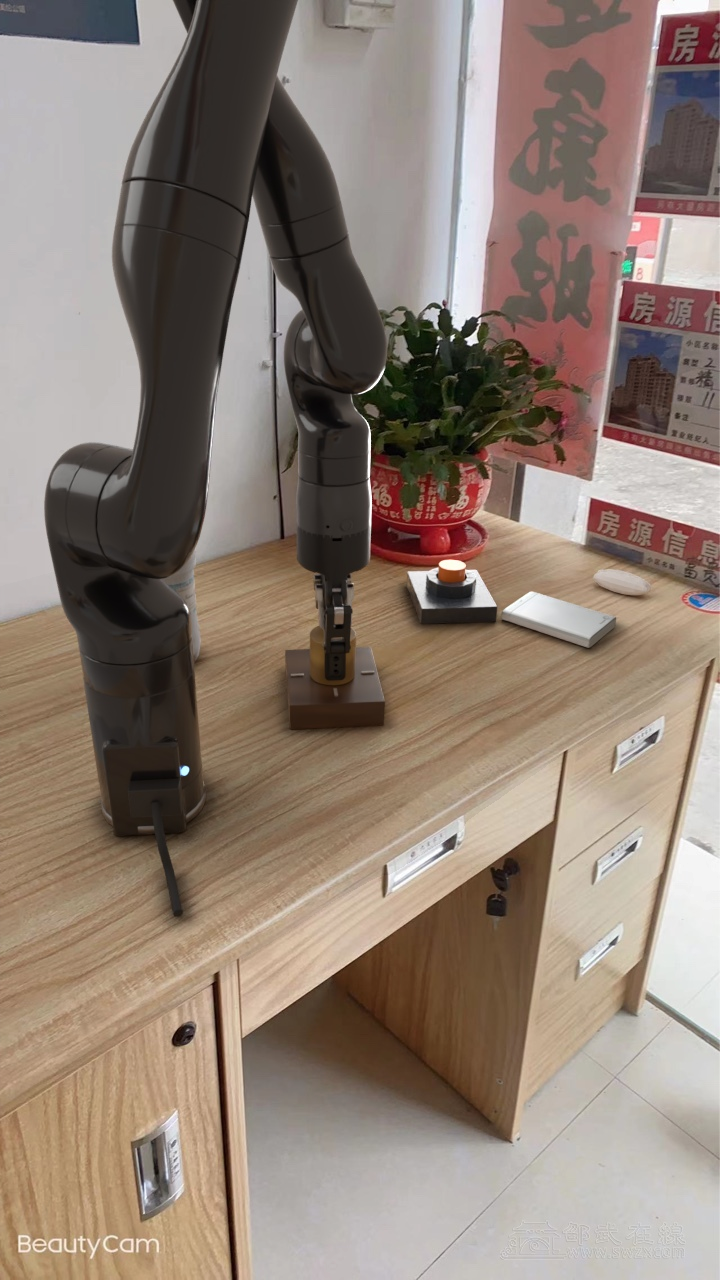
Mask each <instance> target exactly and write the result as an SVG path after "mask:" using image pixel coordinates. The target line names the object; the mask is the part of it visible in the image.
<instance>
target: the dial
mask: <svg viewBox="0 0 720 1280" xmlns="http://www.w3.org/2000/svg"><path fill="white" fill-rule="evenodd" d="M332 639H342V637H334V638H332ZM323 643H324V636H323V629H322V628H320V626H319V625H317V626H315V627H313V628H312V629H311V630H310V632H309V649H310V676H311V678H312V679H313V680H314V681H316V682H318V683H320V684H324V685H341V684H345V683H348V682H350V681H351V680H352V679H353V678H354V677H355V668H356V647H357V633H356V631H355V630H354V629H353V627H351V633H350V645H351V650H350V652H349V653H346V676H345V678H344V679H343V680H333V681H328V680H326V679H325V675H324V647H323Z"/></svg>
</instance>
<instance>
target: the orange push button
mask: <svg viewBox="0 0 720 1280" xmlns="http://www.w3.org/2000/svg"><path fill="white" fill-rule="evenodd" d="M466 566H467V565H466V563H465V562H463V561H461V560H457V559H444V560H441V561H439V563H438V567H439V569H438V579H439V580H441V581H443V582H449V583H459V582H462V581H464V580H465V569H466V568H467V567H466ZM466 570H467V569H466Z"/></svg>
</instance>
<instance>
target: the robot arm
mask: <svg viewBox="0 0 720 1280" xmlns="http://www.w3.org/2000/svg"><path fill="white" fill-rule="evenodd" d="M298 1H299V0H172V2H173V5H174V7H175V10H176V11H177V13H178V15H179V18H180V21H181V22H182V25H183V27H184V29H185V31H186V37H185V39H184V42H183V45H182V47H181V49H180V52H179V54H178V56H177V57H176V60H175V62H174V63H173V66H172V68H171V69H170V71H169V73H168V75H167V77H166V78H165V81H163V84H162V86H161V88H160V89H159V91H158V92H157V95H156V96H155V98H154V100H153V102H152V104H151V105H150V108H149V109H148V111H147V113H146V115H145V117H144V119H143V121H142V123H141V125H140V127H139V129H138V131H137V133H136V136H135V138H134V140H133V143H132V144H131V147H130V151H129V154H128V155H127V160H126V162H125V166H124V171H123V175H122V180H121V187H120V192H119V199H118V204H117V209H116V210H117V211H116V217H115V222H114V229H113V234H112V244H111V264H112V266H111V267H112V272H113V277H114V282H115V287H116V290H117V293H118V298H119V301H120V304H121V308H122V311H123V314H124V317H125V320H126V324H127V327H128V329H129V332H130V337H131V339H132V342H133V346H134V349H135V353H136V357H137V362H138V368H139V376H140V377H139V378H140V381H139V382H140V397H139V400H140V401H139V408H138V417H137V423H136V424H137V425H136V432H135V437H134V442H133V448H128V447H124V446H119V445H115V444H111V443H104V442H95V441H94V442H92V441H91V442H82V443H80V444H77V445H74V446H72V447H70V448H69V449H67V450H66V451H64V453H62V455H61V456H59V458H58V459H57V460H56V462H55V463H54V465H53V467H52V468H51V470H50V472H49V475H48V479H47V482H46V486H45V491H44V500H43V507H44V508H43V511H44V513H43V515H44V516H43V517H44V524H45V530H46V536H47V537H46V538H47V543H48V548H49V552H50V553H49V554H50V557H51V562H52V566H53V570H54V576H55V580H56V585H57V586H56V587H57V589H58V595H59V599H60V604H61V607H62V611H63V613H64V615H65V617H66V619H67V621H68V622H69V624H70V625H71V626H72V628H73V630H74V631H75V634H76V638H77V644H78V651H79V657H80V665H81V671H82V678H83V686H84V692H85V700H86V706H87V707H86V708H87V712H88V713H87V714H88V720H89V727H90V733H91V740H92V747H93V753H94V761H95V767H96V773H97V780H98V785H99V792H100V807H101V813H102V817H103V818H104V819H105V821H106V822H107V823H108V824H110V826H111V827H112V829H113V830H112V831H113V835H114V836H115V837H123V836H124V837H125V836H138V835H139V836H140V835H141V836H142V835H145V836H146V835H155V840H156V846H157V849H158V853H159V857H160V860H161V864H162V868H163V872H164V875H165V879H166V880H165V881H166V884H167V889H168V893H169V898H170V899H169V900H170V904H171V909H172V915H173V916H174V917H175V918H179V917H181V916H182V915H184V911H183V907H182V906H183V905H182V902H181V896H180V891H179V886H178V882H177V878H176V874H175V869H174V866H173V862H172V859H171V855H170V852H169V848H168V844H167V840H166V834H177V833H184V832H185V831H186V829H187V824H188V823H189V822H191V821H192V820H193V819H195V817H197V816H198V815H199V814H200V812H201V811H202V809H203V808H204V806H205V803H206V797H207V796H206V794H207V793H206V785H205V781H204V771H203V770H204V769H203V760H202V748H201V747H202V746H201V736H200V721H199V710H198V698H197V696H198V695H197V686H196V685H197V684H196V675H195V661H194V657H193V644H192V629H191V617H190V611H189V608H188V606H187V604H186V602H185V601H184V599H183V598H182V597H181V596H180V595H179V594H178V593H177V592H176V591H174V590H173V589H172V588H171V587H170V586H168V585H167V584H166V583H165V582H164V581H163V580H162V579H164V578H168V577H170V576H172V575H174V574H175V573H177V572H178V571H179V570H180V569H181V568H182V567H184V565H185V564H186V563H187V561H188V560H189V559H190V557H191V556H192V554H193V552H194V549H195V550H196V547H197V545H198V543H199V540H200V538H201V533H202V529H203V525H204V521H205V516H206V511H207V505H208V497H209V489H210V488H209V487H210V486H209V485H210V477H211V476H210V475H211V466H212V453H213V444H214V443H213V442H214V431H215V421H216V410H217V409H216V408H217V399H218V398H217V397H218V393H219V384H220V377H221V373H222V372H221V371H222V365H223V360H224V358H223V357H224V353H225V346H226V340H227V334H228V328H229V323H230V315H231V311H232V305H233V300H234V295H235V291H236V286H237V282H238V279H239V278H238V277H239V275H240V271H241V270H240V269H241V264H242V259H243V253H244V249H245V243H246V238H247V233H248V232H247V231H248V226H249V222H250V215H251V208H252V200H253V203H254V207H255V210H256V214H257V217H258V221H259V224H260V229H261V232H262V235H263V239H264V242H265V246H266V250H267V254H268V255H269V261H270V263H271V266H272V269H273V272H274V275H275V276H276V277H275V278H276V279H277V281H278V282H279V283H280V285H281V286H282V287H283V288H284V289H285V290H287V291H288V292H289V293H290V294H292V295H293V296H294V297H295V298H296V300H297V301H298V303H299V305H300V307H301V310H299V311H298V312H296V314H295V315H294V316H293V318H292V319H291V321H290V323H289V325H288V327H287V330H286V333H285V338H284V342H283V367H284V369H283V370H284V375H285V380H286V385H287V390H288V394H289V399H290V404H291V409H292V413H293V416H294V420H295V423H296V427H297V432H298V433H297V434H298V437H297V438H298V440H297V470H298V471H297V473H298V475H297V476H298V477H297V479H298V480H297V486H296V493H295V494H296V495H295V515H296V518H295V519H296V521H295V522H296V524H295V525H296V560H297V562H298V564H299V565H300V566H301V567H302V568H303V569H305V570H307V571H308V572H311V573H314V574H312V575H313V577H312V582H313V591H314V601H315V603H314V604H315V608H316V609H317V623H318V626H320V628H322V629H323V636H324V643H323V647H324V675H325V679H326V680H328V681H333V680H343V679H344V678H345V676H346V653H349V652H350V650H351V645H350V633H351V628H352V625H353V612H354V611H353V603H352V602H353V600H355V599H354V598H355V586H354V583H353V582H352V574H353V573H355V572H356V573H357V572H360V571H362V570H363V569H365V568H366V567H367V566H368V564H369V563H370V560H371V540H372V539H371V538H372V536H371V534H372V505H373V504H372V503H373V502H372V501H373V500H372V489H371V477H370V476H371V447H372V446H371V445H372V444H371V442H372V440H371V429H370V425H369V422H367V420H366V419H365V417H363V415H362V414H360V412H359V411H358V409H356V407H355V406H354V403H353V397H352V396H356V395H361V394H364V393H366V392H368V391H370V390H371V389H373V388H374V387H375V386H376V385H377V384H378V383H379V381H380V379H381V378H382V376H383V374H384V371H385V369H386V365H387V361H388V338H387V332H386V328H385V324H384V322H383V319H382V316H381V313H380V310H379V307H378V305H377V303H376V301H375V299H374V297H373V294H372V292H371V289H370V287H369V285H368V283H367V280H366V278H365V276H364V274H363V272H362V270H361V268H360V266H359V264H358V262H357V260H356V259H355V256H354V253H353V250H352V246H351V241H350V236H349V231H348V227H347V222H346V221H347V220H346V217H345V213H344V208H343V204H342V200H341V196H340V190H339V186H338V183H337V179H336V175H335V173H334V170H333V168H332V165H331V163H330V161H329V158H328V156H327V154H326V151H325V150H324V148H323V146H322V144H321V142H320V141H319V139H318V138H317V136H316V134H315V133H314V131H313V129H312V128H311V127H310V125H309V123H308V122H307V120H306V118H305V117H304V115H303V114H302V113H301V111H300V109H298V107H297V105H296V104H295V103H294V101H293V99H292V98H291V96H290V94H289V93H288V92H287V90H286V88H285V87H284V85H283V84H282V82H281V80H280V78H279V76H278V72H279V68H280V64H281V61H282V58H283V53H284V50H285V46H286V43H287V39H288V36H289V33H290V29H291V25H292V22H293V19H294V15H295V11H296V8H297V4H298ZM334 637H342V639H332V638H334Z"/></svg>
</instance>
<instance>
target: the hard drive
mask: <svg viewBox="0 0 720 1280" xmlns="http://www.w3.org/2000/svg"><path fill="white" fill-rule="evenodd" d="M500 619H501V620H503V621H506V622H509V623H512V624H516V625H517V626H520V627H525V628H528V629H531V630H533V631H536V632H539V633H542V634H545V635H548V636H551V637H554V638H557V639H561V640H563V641H566V642H569V643H573V644H574V645H575V644H576V645H578V646H581V647H584V648H588V649H589V648H591V647H593V645H595V644H596V643H597V642H599V640H601V639H602V638H603V637H605V636H606V635H607V634H608V633H610V631H612V630H613V629H614V628H615V627H616V624H617V616H614V615H611V614H608V613H604V612H601V611H598V610H594V609H590V608H589V607H588V608H587V607H585V606H581V605H578V604H575V603H572V602H569V601H565V600H562V599H560V598H556V597H552V596H549V595H545V594H542V593H539V592H536V591H533V590H531V591H529V592H527V593H526V594H524V595H523V596H521V597H520V598H518V599H517V600H515V601H514V602H512V603H511V604H510V605H508V606H507V607H505V608H503V610H502V611H501V618H500Z"/></svg>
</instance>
